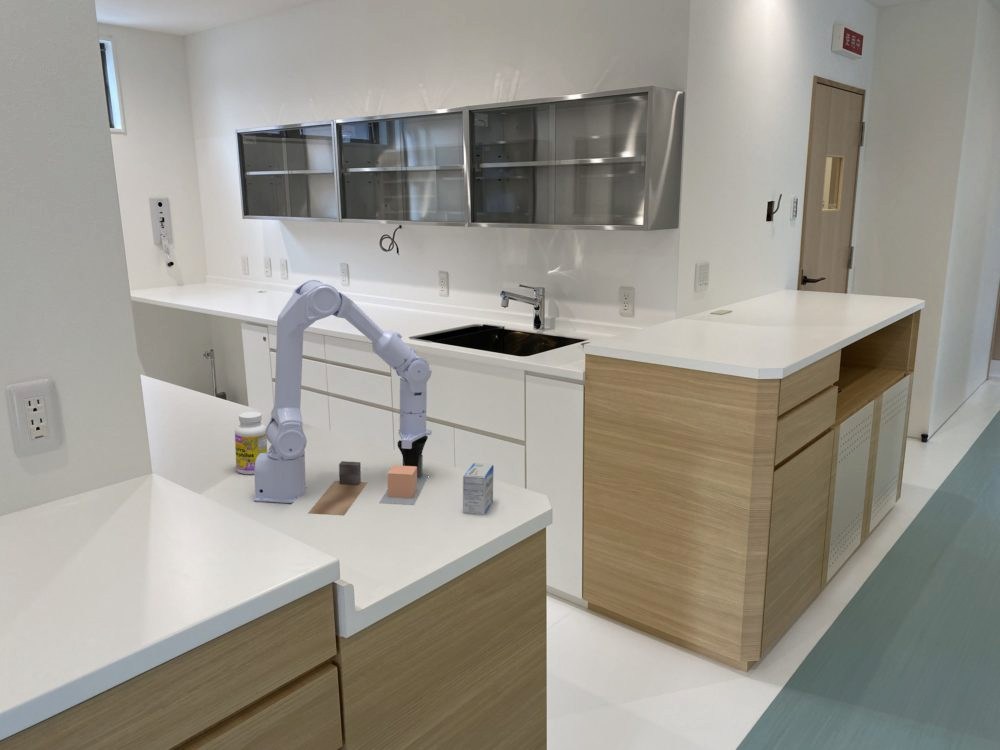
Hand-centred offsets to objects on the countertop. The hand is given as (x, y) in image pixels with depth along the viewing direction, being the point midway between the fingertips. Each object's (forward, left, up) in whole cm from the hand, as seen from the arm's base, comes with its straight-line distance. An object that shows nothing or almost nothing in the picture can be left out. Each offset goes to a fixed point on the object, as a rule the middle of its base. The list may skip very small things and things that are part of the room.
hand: (412, 470), depth 164 cm
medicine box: (+16, -16, -2) cm, 23 cm away
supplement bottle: (-36, 0, -2) cm, 36 cm away
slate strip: (0, -7, -2) cm, 7 cm away
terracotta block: (0, -11, -1) cm, 11 cm away
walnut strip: (-12, -14, -2) cm, 19 cm away
